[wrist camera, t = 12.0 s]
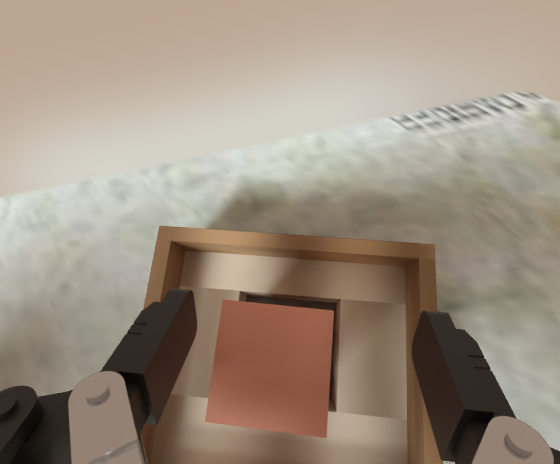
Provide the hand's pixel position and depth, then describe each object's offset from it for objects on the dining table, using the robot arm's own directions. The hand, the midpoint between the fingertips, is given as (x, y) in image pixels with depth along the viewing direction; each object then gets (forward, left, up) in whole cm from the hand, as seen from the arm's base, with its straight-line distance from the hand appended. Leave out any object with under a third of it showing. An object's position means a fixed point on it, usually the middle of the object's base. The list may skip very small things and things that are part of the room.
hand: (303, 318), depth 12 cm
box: (-1, -3, -11) cm, 11 cm away
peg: (-1, -2, -11) cm, 11 cm away
